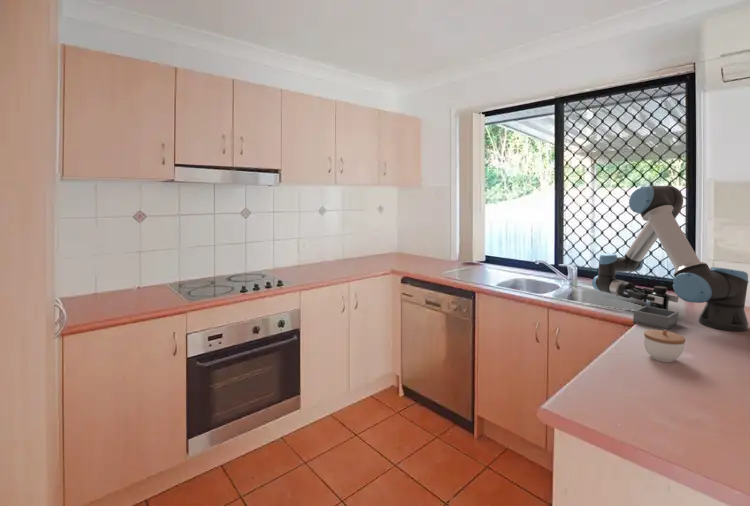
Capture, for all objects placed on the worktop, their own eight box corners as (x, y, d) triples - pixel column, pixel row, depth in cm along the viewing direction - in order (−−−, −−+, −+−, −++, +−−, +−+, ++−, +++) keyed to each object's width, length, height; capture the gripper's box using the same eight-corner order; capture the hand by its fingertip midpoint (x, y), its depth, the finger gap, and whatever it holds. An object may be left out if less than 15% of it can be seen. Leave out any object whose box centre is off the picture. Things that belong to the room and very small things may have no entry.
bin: (677, 323, 165) (678, 312, 165) (667, 329, 158) (668, 317, 157) (643, 317, 175) (644, 305, 174) (633, 322, 167) (634, 310, 167)
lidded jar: (642, 360, 129) (645, 332, 128) (641, 349, 138) (644, 322, 137) (684, 367, 123) (688, 338, 122) (680, 356, 132) (684, 328, 131)
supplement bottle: (649, 310, 185) (652, 284, 183) (667, 313, 181) (670, 286, 179) (647, 313, 180) (650, 287, 178) (666, 316, 175) (669, 289, 174)
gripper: (638, 294, 200) (686, 306, 178) (605, 298, 193) (651, 310, 172) (639, 279, 199) (688, 289, 177) (606, 282, 192) (653, 293, 171)
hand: (670, 300), depth 175 cm, fingers open, 8 cm apart
